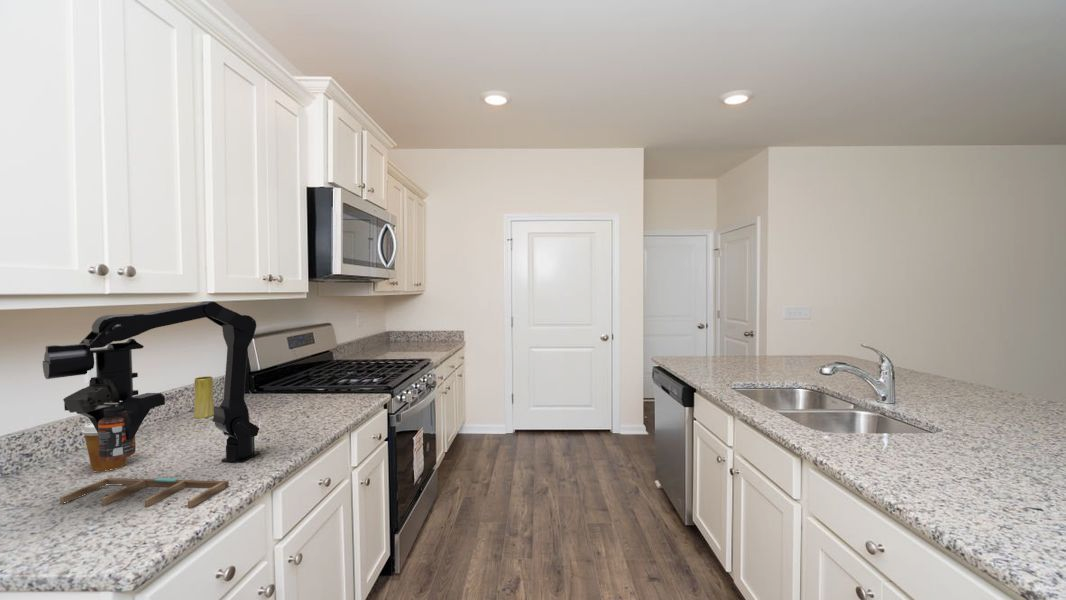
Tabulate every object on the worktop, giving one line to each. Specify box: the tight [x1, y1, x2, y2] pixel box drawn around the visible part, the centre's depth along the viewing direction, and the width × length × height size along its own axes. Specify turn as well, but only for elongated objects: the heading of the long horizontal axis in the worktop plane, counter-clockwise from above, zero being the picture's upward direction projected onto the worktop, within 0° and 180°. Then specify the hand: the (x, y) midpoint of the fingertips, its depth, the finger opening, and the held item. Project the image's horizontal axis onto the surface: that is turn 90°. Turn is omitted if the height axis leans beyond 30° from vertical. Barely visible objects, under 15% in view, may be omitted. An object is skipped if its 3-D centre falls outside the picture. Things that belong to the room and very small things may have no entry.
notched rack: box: [59, 477, 230, 509], centre depth 95 cm, size 10×30×2 cm, turn 86°
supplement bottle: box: [98, 406, 137, 461], centre depth 94 cm, size 6×6×11 cm
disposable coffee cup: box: [81, 421, 128, 472], centre depth 110 cm, size 10×10×12 cm
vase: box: [193, 375, 215, 419], centre depth 155 cm, size 6×6×14 cm
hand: (117, 439), depth 95 cm, fingers closed on supplement bottle, 6 cm apart
